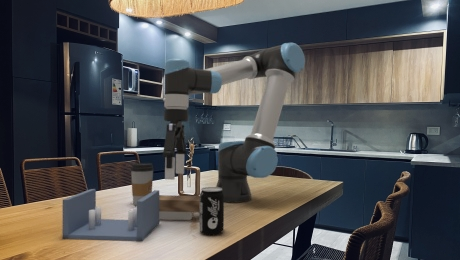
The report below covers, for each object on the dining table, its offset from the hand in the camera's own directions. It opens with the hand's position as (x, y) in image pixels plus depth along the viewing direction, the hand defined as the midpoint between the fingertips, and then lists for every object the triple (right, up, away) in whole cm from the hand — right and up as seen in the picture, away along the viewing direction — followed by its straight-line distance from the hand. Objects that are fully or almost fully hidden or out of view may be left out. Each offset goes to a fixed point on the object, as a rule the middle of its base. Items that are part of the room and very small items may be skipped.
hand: (175, 176), depth 105 cm
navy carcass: (-15, -13, -13) cm, 24 cm away
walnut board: (0, -10, 0) cm, 10 cm away
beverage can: (+12, -14, -14) cm, 23 cm away
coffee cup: (-16, -13, +19) cm, 28 cm away
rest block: (0, -13, 0) cm, 13 cm away
